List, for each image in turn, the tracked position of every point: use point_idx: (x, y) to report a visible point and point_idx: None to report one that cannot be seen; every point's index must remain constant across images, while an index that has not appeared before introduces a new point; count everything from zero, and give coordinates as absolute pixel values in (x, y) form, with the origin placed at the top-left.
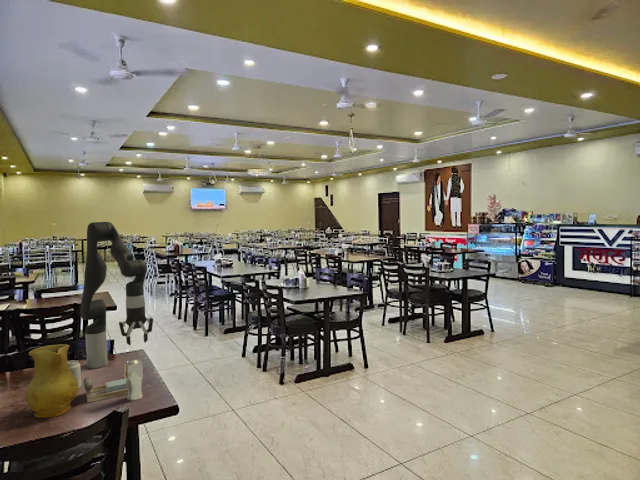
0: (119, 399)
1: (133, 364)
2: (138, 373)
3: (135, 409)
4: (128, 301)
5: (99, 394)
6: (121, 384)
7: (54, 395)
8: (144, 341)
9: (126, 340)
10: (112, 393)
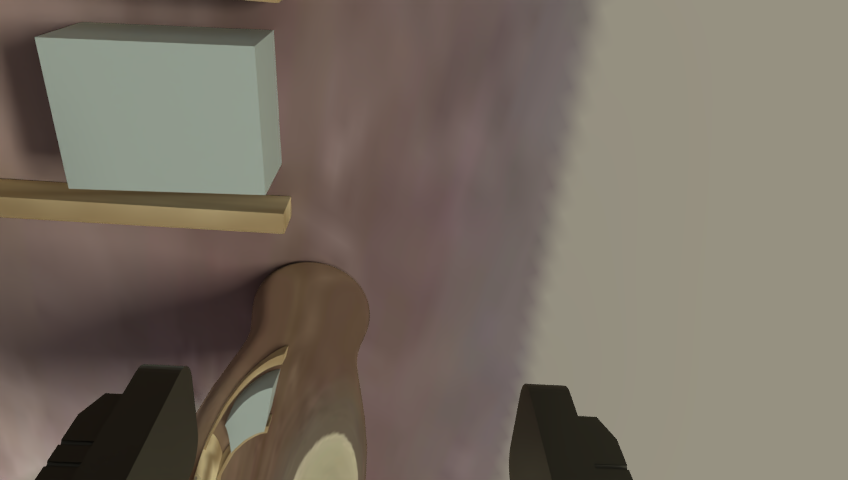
0: (200, 277)
1: (272, 452)
2: None
3: None
4: None
5: (20, 197)
6: (203, 192)
7: None
8: (513, 471)
9: (54, 452)
10: (135, 220)
